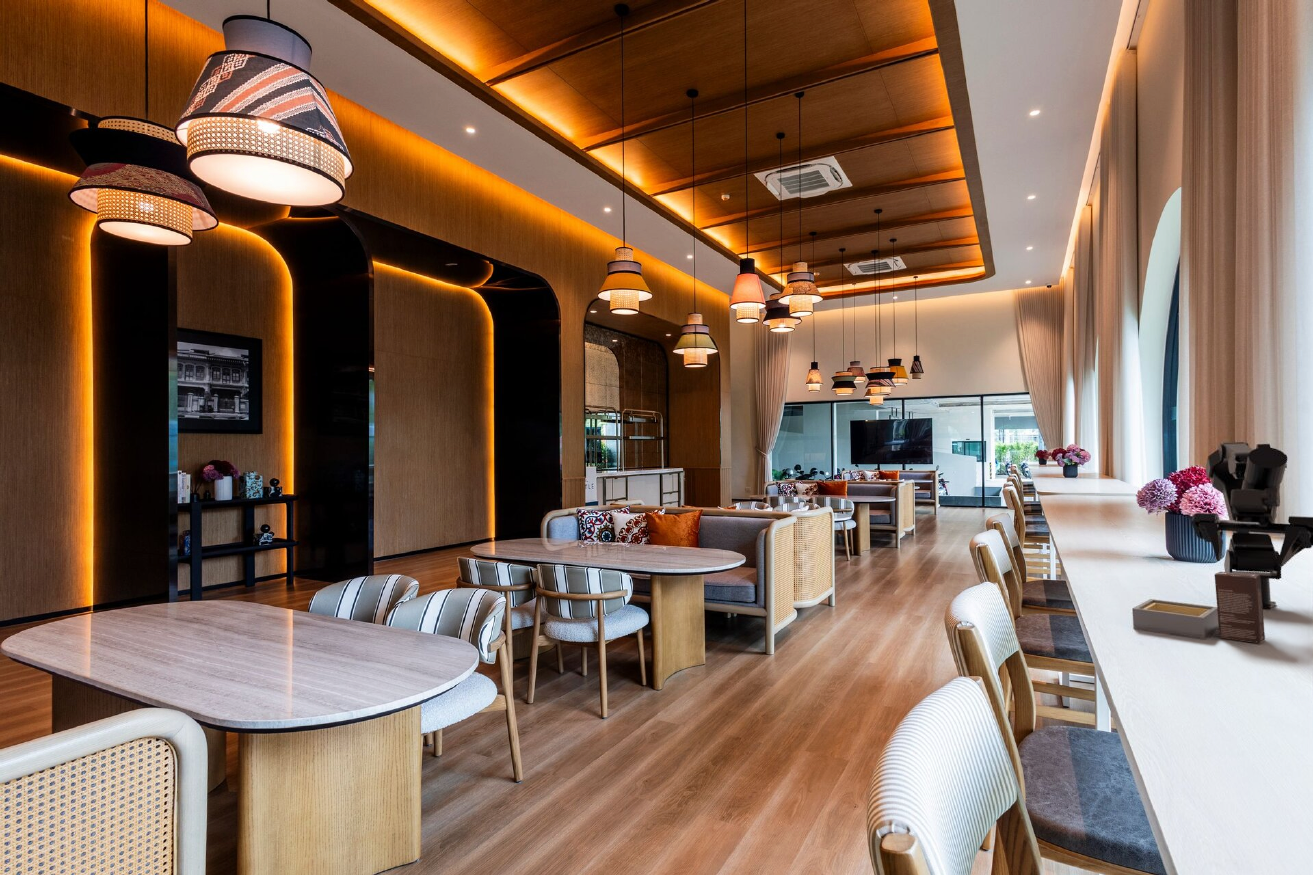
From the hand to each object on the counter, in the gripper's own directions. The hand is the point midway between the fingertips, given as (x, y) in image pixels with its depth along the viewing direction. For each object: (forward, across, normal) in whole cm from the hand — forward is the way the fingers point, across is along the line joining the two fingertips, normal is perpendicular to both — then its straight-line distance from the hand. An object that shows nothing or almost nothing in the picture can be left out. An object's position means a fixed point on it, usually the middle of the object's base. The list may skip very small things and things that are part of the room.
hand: (1248, 562), depth 127 cm
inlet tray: (+14, -10, +4) cm, 18 cm away
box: (+15, 0, +4) cm, 15 cm away
